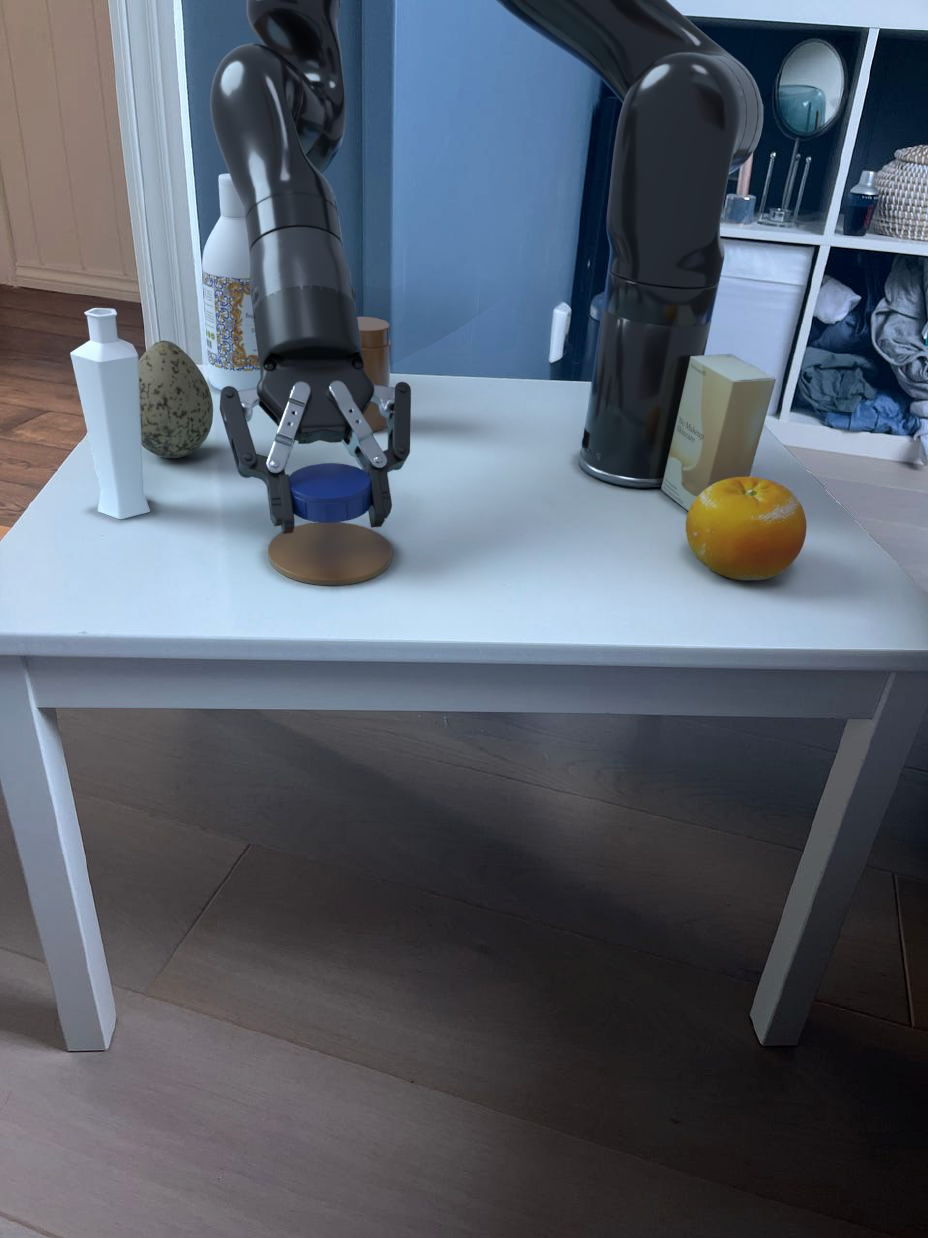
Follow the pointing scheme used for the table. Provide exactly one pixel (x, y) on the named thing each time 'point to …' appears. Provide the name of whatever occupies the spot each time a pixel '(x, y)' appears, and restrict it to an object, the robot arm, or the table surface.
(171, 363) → the decorative egg
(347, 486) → the lid
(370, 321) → the jar
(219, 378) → the bath foam
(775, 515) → the fruit
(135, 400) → the perfume bottle
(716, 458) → the cosmetic box
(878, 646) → the table surface
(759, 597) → the table surface
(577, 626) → the table surface
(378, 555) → the coaster
